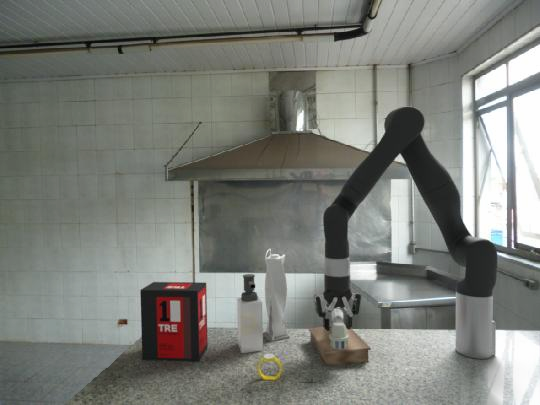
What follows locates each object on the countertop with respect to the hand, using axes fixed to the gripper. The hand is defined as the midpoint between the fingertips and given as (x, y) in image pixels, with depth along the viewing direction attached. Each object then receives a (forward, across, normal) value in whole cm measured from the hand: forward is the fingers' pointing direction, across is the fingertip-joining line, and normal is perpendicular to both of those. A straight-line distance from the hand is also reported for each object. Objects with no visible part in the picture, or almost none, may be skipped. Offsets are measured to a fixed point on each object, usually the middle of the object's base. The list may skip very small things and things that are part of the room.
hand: (337, 329), depth 107 cm
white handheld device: (+1, 0, 0) cm, 1 cm away
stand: (+6, 0, 0) cm, 6 cm away
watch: (+7, -22, -12) cm, 26 cm away
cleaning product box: (+7, -47, +7) cm, 48 cm away
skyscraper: (+7, -16, +15) cm, 23 cm away
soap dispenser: (+7, -25, +6) cm, 27 cm away
